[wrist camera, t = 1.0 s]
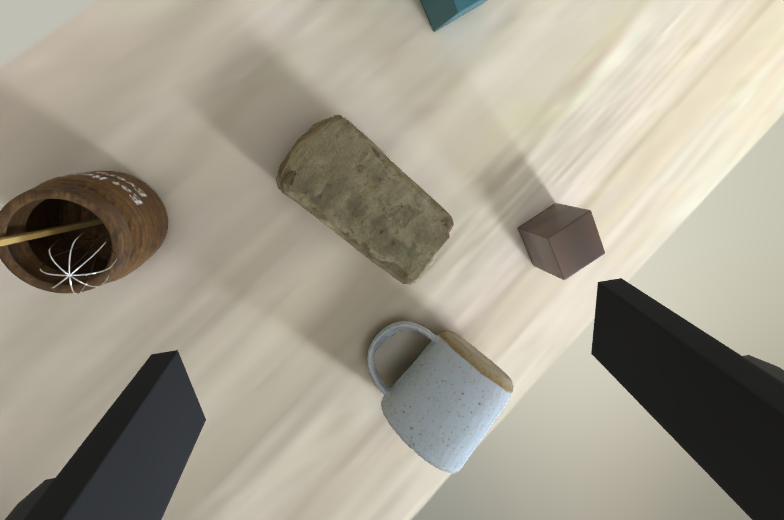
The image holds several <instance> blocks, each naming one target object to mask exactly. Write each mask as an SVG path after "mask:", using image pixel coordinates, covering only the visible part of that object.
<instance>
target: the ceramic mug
mask: <svg viewBox="0 0 784 520" xmlns="http://www.w3.org/2000/svg"><path fill="white" fill-rule="evenodd" d="M402 329H411V330H416V331H418V332H420V333H422V334H424V335H425V336H427V337H428V338H429V339H431V342H430V343H429V344H428V345H427V346H426V348H425V349H424V350H423V351H422V353H421V354H420V355H419V356H418V358H417V359H416V360H415V361H414V362H413V364H412V365H411V366H410V367H409V368H408V369H407V370H406V371H405V372H404V373H403V375H402V376H401V377H400V378H399V379H398V380H397V381H396V382H395V384H394V385H393V386H392V387H389V386H387V385H386V383H385V382H384V381H383V380H382V379H381V377H380V376H379V374H378V372H377V370H376V368H375V365H374V352H375V350H376V349H377V348H378V346H379V345H380V344H381V343H382V342H383V341H384V340H385V339H386V338H387V337H389V336H392V335H395V334H396V332H397V331H400V330H402ZM367 360H368V368H369V371H370V374H371V377H372V378H373V380H374V382H375V384H376V385H377V387H378V388H379V389H380V390H381V392H382V393H383V394H384V395H385V396H384V397H383V399H382V401H381V406H382V411H383V414H384V416H385V417H386V419H387V420H388V423H389V424H390V425H391V427H392V428H393V429H394V431H395V432H396V433H397V434H398V435H399V436H400V438H401V439H402V440H403V441H404V442H405V443H406V444H407V445H408V446H409V447H410V448H411V449H413V450H414V451H415V452H416V453H417V454H418V455H419V456H420V457H422V458H423V459H424V460H425V461H427V462H428V463H430V464H431V465H433V466H435V467H436V468H438V469H440V470H442V471H445V472H448V473H456V472H458V471H460V469H461V467H463V465H464V464H465V462H466V461H467V459H468V458H469V456H470V455H471V453H472V452H473V451H474V449H475V448H476V446H477V445H478V444H479V442H480V441H481V440H482V438H483V437H484V436H485V434H486V433H487V431H488V430H489V428H490V427H491V425H492V424H493V423H494V421H495V420H496V419H497V417H498V416H499V415H500V413H501V412H502V410H503V409H504V407H505V406H506V404H507V402H508V400H509V398H510V396H511V394H512V391H513V383H512V380H511V379H510V378H509V376H508V375H507V374H506V373H505V372H503V371H502V370H501V369H500V368H499V367H498V366H497V365H496V364H494V363H493V362H492V361H491V360H490V359H488V358H487V357H486V356H485V355H483V354H482V353H481V352H480V351H478V350H477V349H476V348H475V347H473V346H472V345H471V344H469V343H468V342H467V341H465V340H464V339H462V338H461V337H460V336H458V335H457V334H455V333H453V332H450V331H447V332H443V333H441V334H439V335H435V334H433V333H432V332H431V331H430V330H429V329H427V328H426V327H423V326H421V325H419V324H417V323H414V322H409V321H399V322H395V323H392V324H390V325H388V326H386V327H384V328H383V329H382V330H381V331H380V332H379V333H378V334H377V335H376V336H375V338H374V340H373V341H372V343H371V345H370V347H369V350H368V356H367Z"/></svg>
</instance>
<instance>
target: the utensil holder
mask: <svg viewBox="0 0 784 520" xmlns="http://www.w3.org/2000/svg"><path fill="white" fill-rule="evenodd" d="M167 228H168V219H167V213H166V210H165V207H164V205H163V203H162V201H161V200H160V198H159V197H158V195H157V194H156V193H155V192H154V191H153V190H152V189H151V188H150V187H149V186H147V185H146V184H145V183H143V182H142V181H140V180H138V179H136V178H134V177H132V176H129V175H126V174H123V173H118V172H111V171H94V172H85V173H77V174H71V175H65V176H61V177H57V178H54V179H51V180H48V181H46V182H44V183H42V184H40V185H38V186H37V187H35V188H33V189H30V190H28V191H26V192H24V193H22V194H20V195H18V196H17V197H15V198H14V199H12V200H11V201H10V202H8V203H7V204H6V205H5V206H4V207H3V208H2V210H1V211H0V259H1V260H2V262H3V263H4V264H5V266H6V267H7V268H8V269H9V270H10V271H11V272H12V273H13V274H14V275H15V276H17V277H18V278H19V279H21V280H22V281H24V282H26V283H28V284H30V285H32V286H34V287H36V288H39V289H42V290H46V291H50V292H55V293H74V294H76V293H77V294H79V293H80V292H83V291H87V290H90V289H94V288H96V287H101V286H102V285H104V284H106V283H109V282H112V281H115V280H118V279H120V278H122V277H124V276H126V275H128V274H129V273H131V272H132V271H134V270H135V269H137V268H138V267H139V266H140V265H142V264H143V263H144V262H145V261H146V260H148V259H149V258H150V257H151V256H152V255H153V254H154V253H155V252H156V251H157V250H158V249H159V247H160V246H161V244H162V243H163V241H164V239H165V236H166V233H167ZM77 294H76V295H77Z"/></svg>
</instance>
